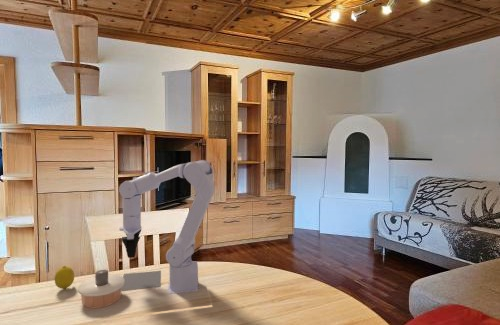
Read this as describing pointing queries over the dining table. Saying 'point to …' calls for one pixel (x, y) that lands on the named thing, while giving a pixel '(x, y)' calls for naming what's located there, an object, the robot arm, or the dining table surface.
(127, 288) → the mat
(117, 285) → the lid
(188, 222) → the robot arm
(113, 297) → the bowl
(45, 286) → the dining table surface
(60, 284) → the lemon
